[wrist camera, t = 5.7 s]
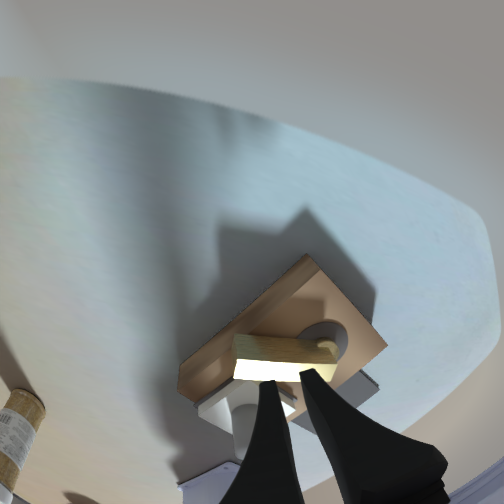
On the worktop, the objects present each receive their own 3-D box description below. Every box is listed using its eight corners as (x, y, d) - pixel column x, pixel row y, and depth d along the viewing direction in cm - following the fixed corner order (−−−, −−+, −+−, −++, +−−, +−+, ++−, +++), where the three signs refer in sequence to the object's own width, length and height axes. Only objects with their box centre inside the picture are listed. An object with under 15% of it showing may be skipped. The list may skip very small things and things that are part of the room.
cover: (245, 432, 22) (252, 476, 18) (198, 406, 20) (197, 454, 16) (293, 401, 21) (307, 445, 17) (247, 370, 20) (255, 419, 15)
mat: (316, 433, 28) (317, 435, 27) (273, 408, 25) (273, 411, 25) (378, 388, 26) (379, 389, 26) (343, 355, 24) (344, 357, 24)
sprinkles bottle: (19, 410, 23) (-22, 498, 11) (7, 381, 22) (-45, 473, 9) (52, 421, 24) (16, 518, 11) (41, 393, 23) (-7, 496, 10)
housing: (255, 416, 26) (260, 442, 22) (177, 367, 23) (174, 394, 20) (371, 325, 24) (389, 346, 21) (306, 253, 21) (321, 270, 18)
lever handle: (339, 337, 20) (353, 360, 17) (330, 361, 20) (342, 384, 18) (235, 329, 18) (238, 355, 16) (229, 355, 19) (232, 381, 16)
